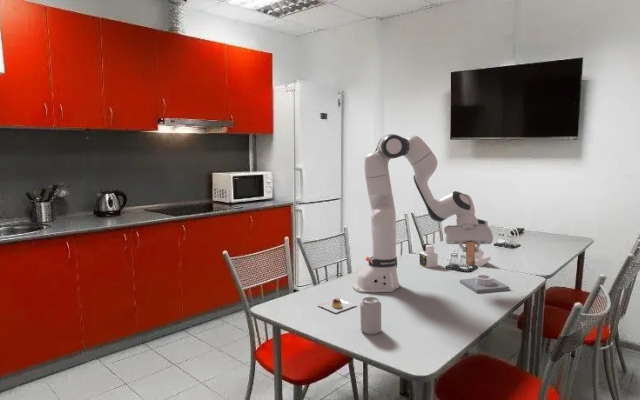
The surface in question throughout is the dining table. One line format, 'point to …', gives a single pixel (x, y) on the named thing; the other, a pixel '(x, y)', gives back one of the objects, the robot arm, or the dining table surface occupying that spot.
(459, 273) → the dining table surface
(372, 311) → the can
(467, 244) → the copper tube
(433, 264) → the medicine bottle
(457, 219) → the robot arm
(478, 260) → the soft serve ice cream
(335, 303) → the dessert
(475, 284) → the collar plate
